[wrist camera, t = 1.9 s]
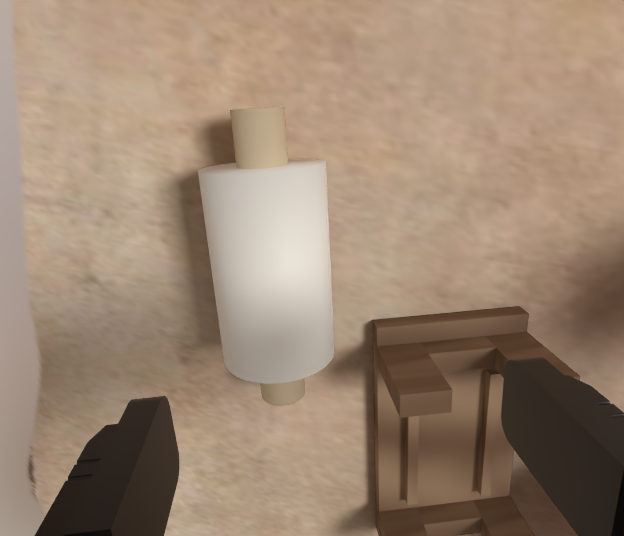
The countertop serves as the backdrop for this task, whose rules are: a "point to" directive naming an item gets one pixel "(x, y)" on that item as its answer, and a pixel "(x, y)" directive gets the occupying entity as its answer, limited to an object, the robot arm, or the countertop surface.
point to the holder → (447, 422)
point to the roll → (270, 257)
